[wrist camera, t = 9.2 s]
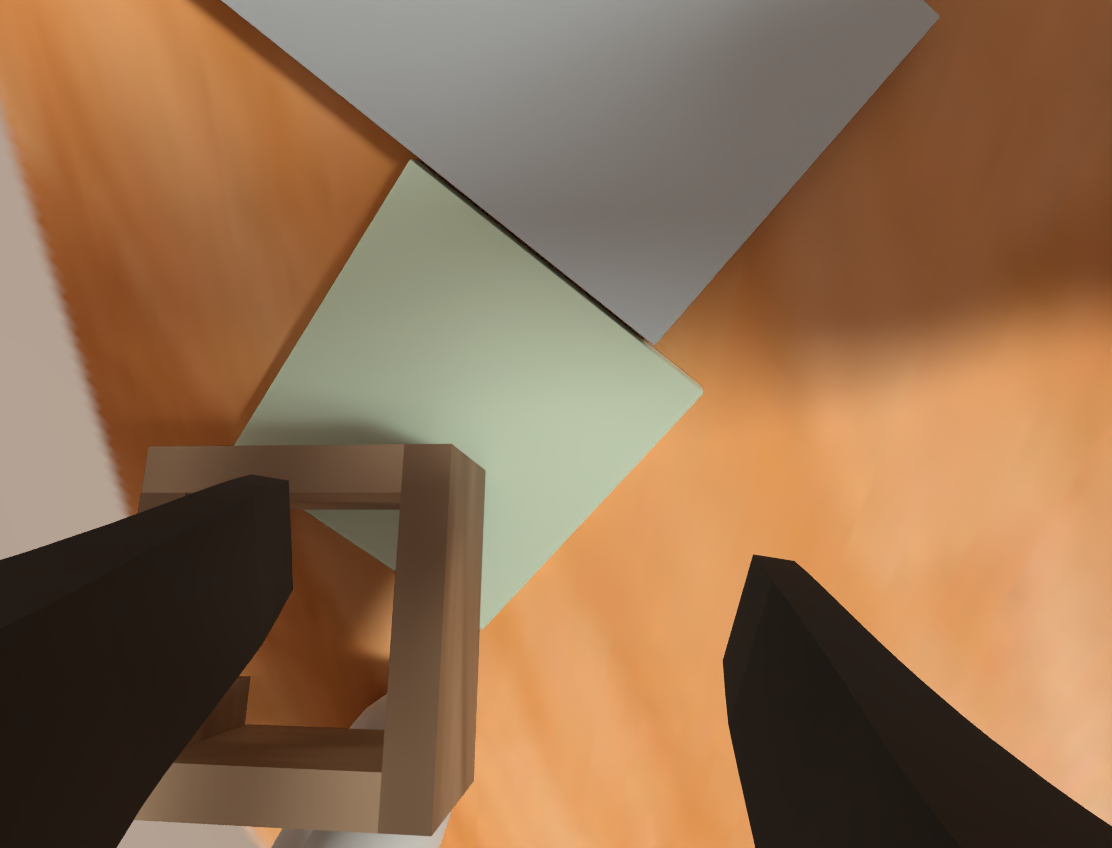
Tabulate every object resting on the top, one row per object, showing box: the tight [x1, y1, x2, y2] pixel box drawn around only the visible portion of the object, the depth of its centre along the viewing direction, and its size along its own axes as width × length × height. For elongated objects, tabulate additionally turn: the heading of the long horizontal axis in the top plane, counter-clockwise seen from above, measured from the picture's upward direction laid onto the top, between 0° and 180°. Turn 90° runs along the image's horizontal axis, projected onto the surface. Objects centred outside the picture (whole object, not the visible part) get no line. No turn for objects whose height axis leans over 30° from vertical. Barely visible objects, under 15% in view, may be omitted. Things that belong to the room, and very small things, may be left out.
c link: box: [134, 444, 486, 836], centre depth 17 cm, size 8×9×4 cm
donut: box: [272, 694, 452, 848], centre depth 20 cm, size 10×4×10 cm, turn 145°
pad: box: [234, 159, 704, 630], centre depth 20 cm, size 10×11×1 cm
